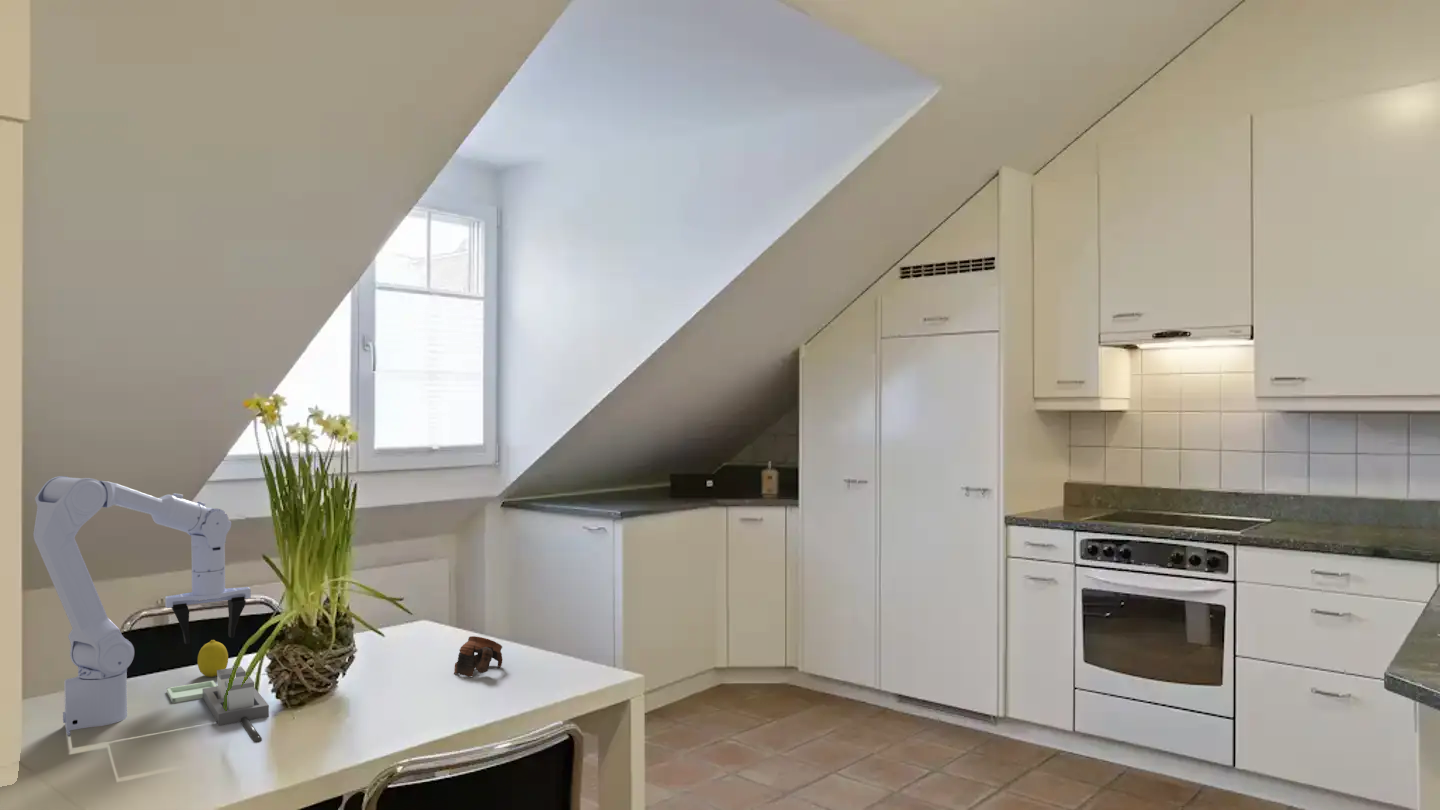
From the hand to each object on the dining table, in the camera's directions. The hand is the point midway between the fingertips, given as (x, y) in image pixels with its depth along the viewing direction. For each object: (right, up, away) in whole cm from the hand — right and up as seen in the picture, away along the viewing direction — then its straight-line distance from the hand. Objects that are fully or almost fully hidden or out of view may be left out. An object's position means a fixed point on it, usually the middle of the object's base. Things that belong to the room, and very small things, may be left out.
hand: (209, 639), depth 188 cm
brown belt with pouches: (+49, -10, +14) cm, 52 cm away
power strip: (+14, -11, -15) cm, 23 cm away
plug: (+8, -10, -7) cm, 15 cm away
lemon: (-4, -11, +9) cm, 15 cm away
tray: (-2, -10, -2) cm, 11 cm away
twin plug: (+13, -10, -14) cm, 22 cm away
